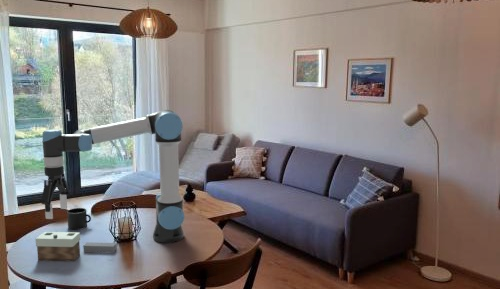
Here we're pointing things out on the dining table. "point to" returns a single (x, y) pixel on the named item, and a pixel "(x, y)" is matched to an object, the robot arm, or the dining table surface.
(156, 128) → the robot arm
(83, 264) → the dining table surface
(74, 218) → the mug
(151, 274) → the dining table surface
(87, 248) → the pad
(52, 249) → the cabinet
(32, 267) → the dining table surface
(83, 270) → the dining table surface
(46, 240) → the cream rectangular block
